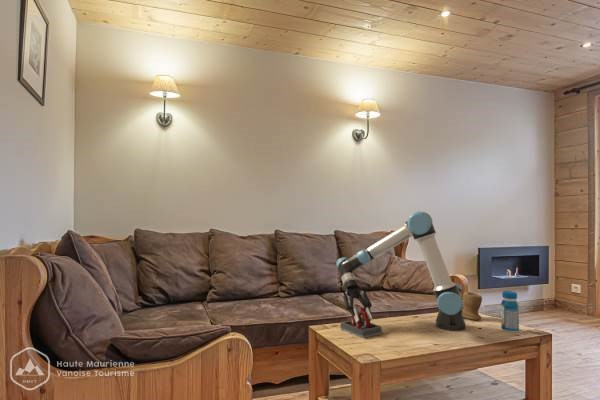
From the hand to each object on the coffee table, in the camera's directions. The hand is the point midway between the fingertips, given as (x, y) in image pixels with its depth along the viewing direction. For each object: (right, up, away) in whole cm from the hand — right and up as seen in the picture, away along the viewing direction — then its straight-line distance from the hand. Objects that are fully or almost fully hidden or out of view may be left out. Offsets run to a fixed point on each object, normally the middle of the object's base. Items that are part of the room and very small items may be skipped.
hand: (364, 320), depth 192 cm
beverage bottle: (+78, -7, +7) cm, 79 cm away
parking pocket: (-1, -6, +3) cm, 7 cm away
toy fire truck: (-1, -4, +3) cm, 6 cm away
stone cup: (+67, -8, +30) cm, 74 cm away
